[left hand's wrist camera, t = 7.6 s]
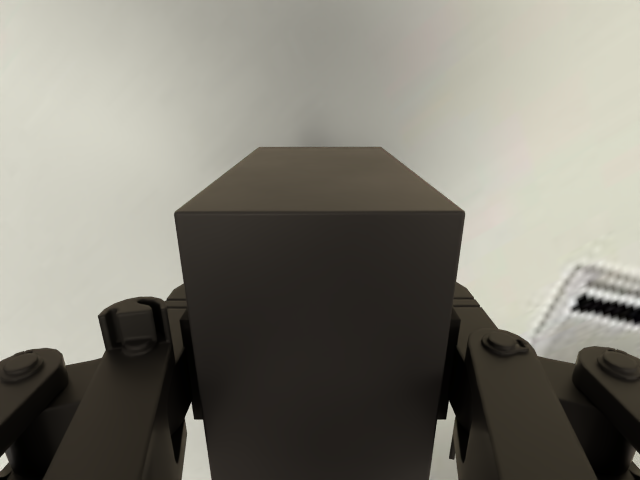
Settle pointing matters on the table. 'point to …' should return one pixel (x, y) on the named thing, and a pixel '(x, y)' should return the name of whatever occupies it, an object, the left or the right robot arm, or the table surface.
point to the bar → (319, 313)
